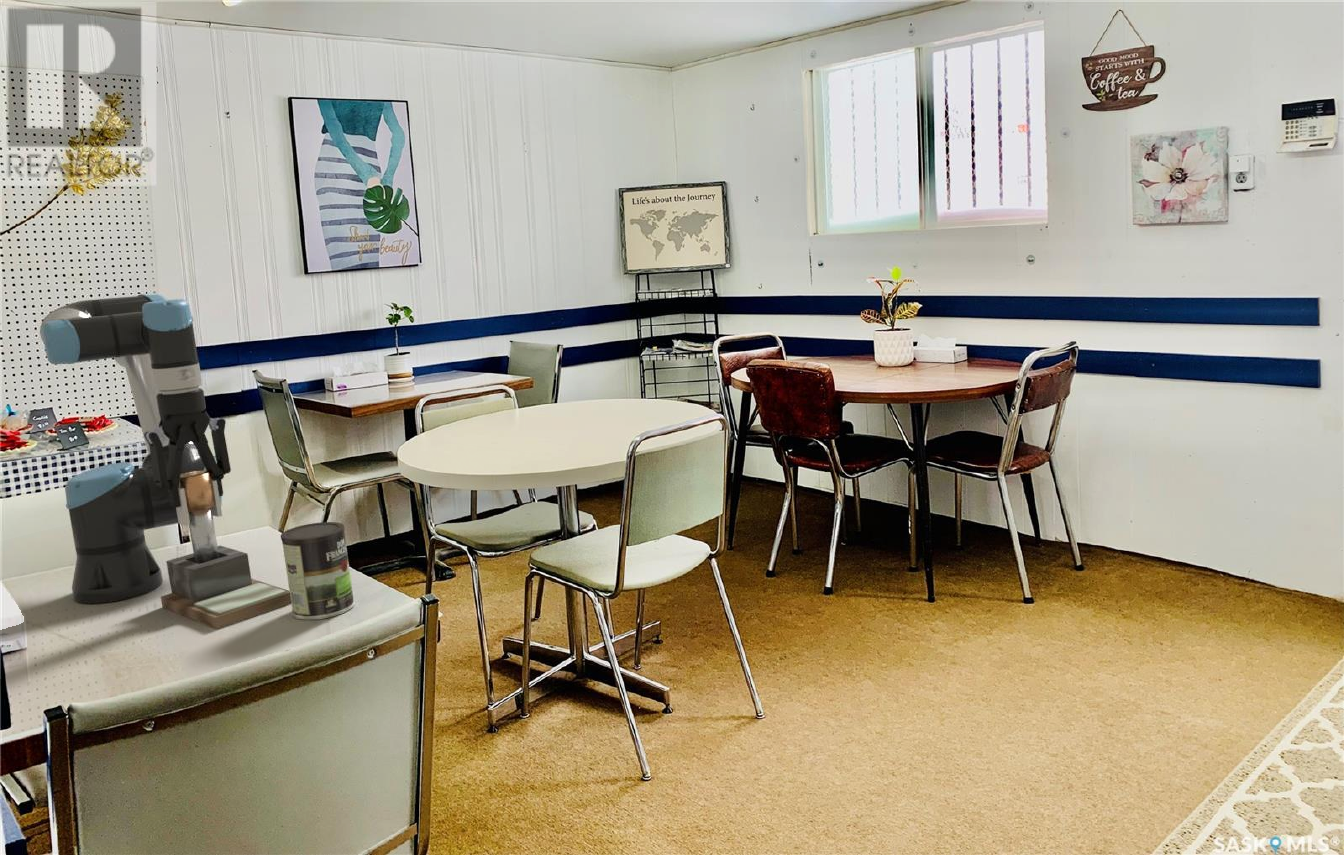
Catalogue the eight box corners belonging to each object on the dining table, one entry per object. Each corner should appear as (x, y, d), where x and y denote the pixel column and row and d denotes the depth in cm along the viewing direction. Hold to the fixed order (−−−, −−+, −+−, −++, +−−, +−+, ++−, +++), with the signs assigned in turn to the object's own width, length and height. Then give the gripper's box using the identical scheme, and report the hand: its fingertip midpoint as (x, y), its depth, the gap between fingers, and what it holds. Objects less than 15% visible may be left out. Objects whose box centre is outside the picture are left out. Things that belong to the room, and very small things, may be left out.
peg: (202, 578, 189) (185, 479, 185) (188, 573, 192) (171, 476, 189) (230, 569, 193) (214, 472, 189) (216, 565, 196) (200, 469, 192)
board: (162, 607, 191) (154, 564, 190) (236, 583, 202) (230, 542, 200) (217, 629, 179) (209, 583, 177) (293, 602, 189) (287, 558, 187)
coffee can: (365, 598, 188) (355, 520, 186) (336, 620, 178) (325, 539, 176) (312, 598, 190) (300, 521, 188) (280, 620, 181) (268, 539, 178)
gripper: (135, 400, 177) (158, 536, 181) (240, 382, 190) (259, 509, 195) (116, 398, 182) (139, 530, 186) (219, 380, 195) (238, 504, 200)
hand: (200, 519), depth 191 cm, fingers closed on peg, 5 cm apart
